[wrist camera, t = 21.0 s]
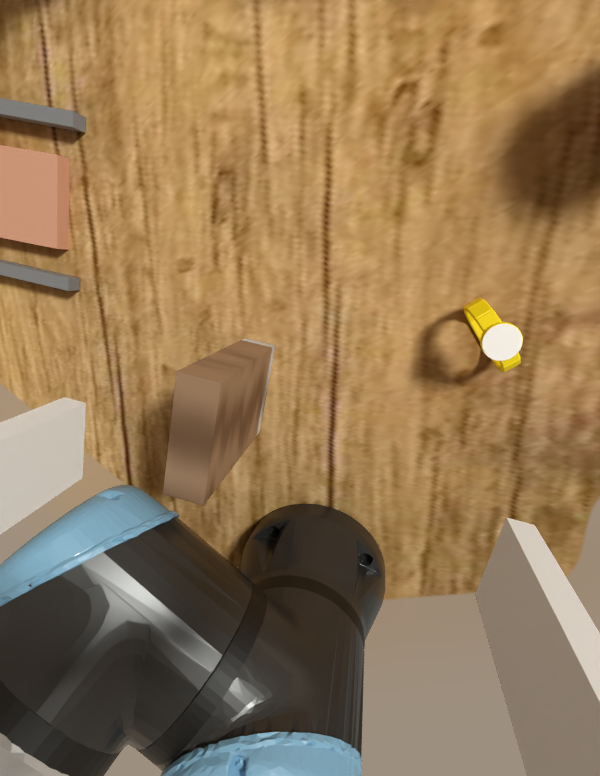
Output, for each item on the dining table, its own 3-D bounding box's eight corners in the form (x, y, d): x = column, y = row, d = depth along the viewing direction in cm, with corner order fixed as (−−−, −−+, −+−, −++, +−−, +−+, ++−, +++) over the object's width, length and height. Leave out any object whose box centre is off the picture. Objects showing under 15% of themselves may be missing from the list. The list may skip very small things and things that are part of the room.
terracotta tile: (71, 249, 41) (57, 248, 39) (0, 235, 42) (-18, 233, 40) (73, 160, 39) (57, 154, 37) (-3, 147, 40) (-22, 141, 38)
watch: (514, 349, 36) (541, 369, 30) (483, 365, 37) (504, 387, 31) (481, 289, 35) (503, 298, 29) (449, 307, 35) (465, 319, 30)
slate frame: (79, 290, 41) (68, 290, 40) (-36, 263, 43) (-51, 262, 42) (86, 117, 37) (73, 111, 35) (-43, 94, 39) (-61, 87, 37)
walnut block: (259, 431, 42) (202, 505, 29) (231, 424, 42) (162, 493, 29) (275, 345, 39) (221, 383, 26) (245, 338, 40) (176, 371, 26)
